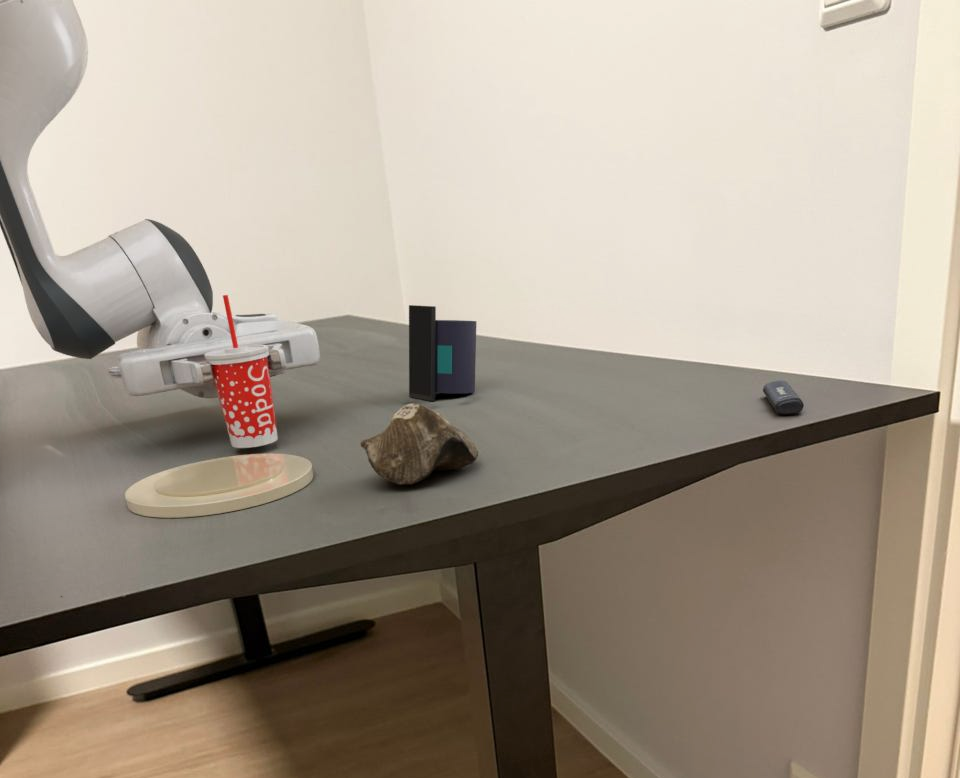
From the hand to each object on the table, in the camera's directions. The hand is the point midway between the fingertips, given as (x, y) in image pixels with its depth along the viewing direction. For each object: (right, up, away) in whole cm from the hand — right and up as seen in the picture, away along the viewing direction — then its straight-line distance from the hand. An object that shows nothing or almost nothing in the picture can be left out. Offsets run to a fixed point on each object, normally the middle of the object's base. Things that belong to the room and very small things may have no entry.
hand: (242, 366), depth 92 cm
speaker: (+19, +3, +21) cm, 29 cm away
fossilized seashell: (+18, -13, -12) cm, 25 cm away
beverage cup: (0, -7, +4) cm, 8 cm away
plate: (0, -13, -9) cm, 16 cm away
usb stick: (+52, -4, -1) cm, 52 cm away
